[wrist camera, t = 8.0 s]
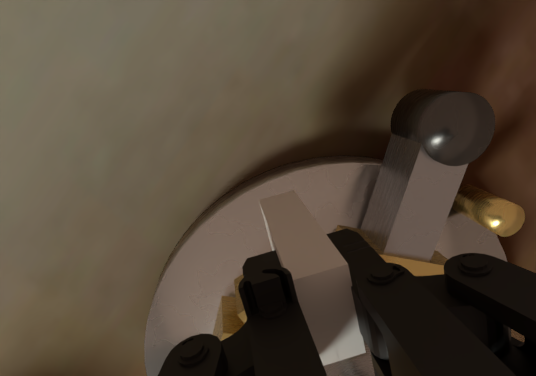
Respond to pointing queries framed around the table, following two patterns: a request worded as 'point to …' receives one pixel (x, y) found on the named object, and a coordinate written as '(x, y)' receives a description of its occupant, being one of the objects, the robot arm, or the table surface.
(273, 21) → the table surface
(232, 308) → the ring nut
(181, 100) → the table surface
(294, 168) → the cap base
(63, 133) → the table surface
